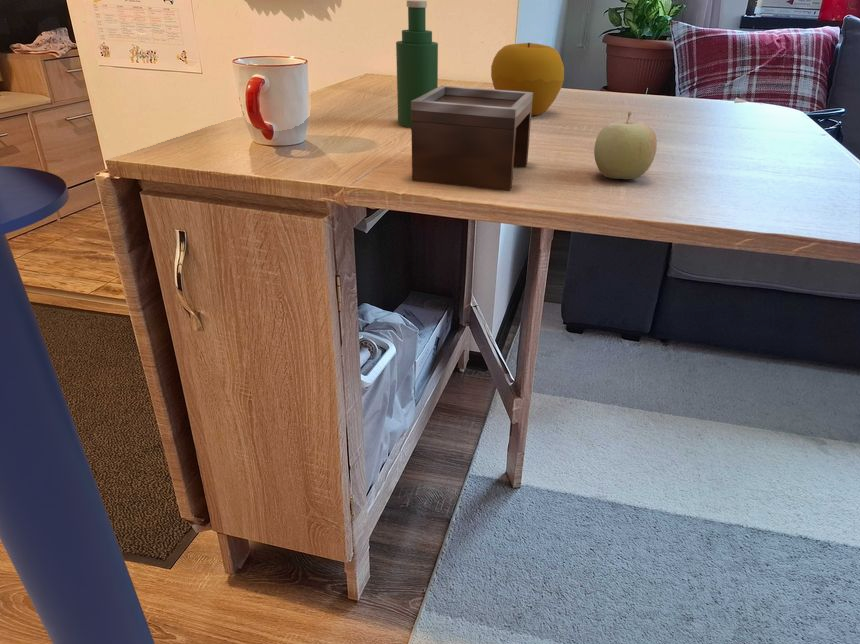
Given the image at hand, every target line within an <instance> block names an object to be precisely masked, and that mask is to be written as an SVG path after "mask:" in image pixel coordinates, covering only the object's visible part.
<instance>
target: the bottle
mask: <svg viewBox="0 0 860 644" xmlns="http://www.w3.org/2000/svg"><path fill="white" fill-rule="evenodd" d="M427 6H428V0H406V7H407V24H408V25H407V26H408V27H407V28H408V29H401V40H398V41H395V53H396V95H397V98H396V100H397V124H398V126H401V127H404V128H408V129H409V128H410V129H411V101H412V100H414V99H416V98H418V97H420V96H422V95H424V94H426V93H428V92H430V91H432V90H434V89H436V88H438V87H439V86H438V85H439V84H438V83H439V82H438V81H439V80H438V79H439V77H438V76H439V74H438V73H439V72H438V71H439V43H438V42H437V41H433V31H432V30H428V29H426V28H427V27H426V24H427V23H426V13H427V12H426V8H427Z"/></svg>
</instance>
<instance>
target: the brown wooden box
mask: <svg viewBox="0 0 860 644" xmlns="http://www.w3.org/2000/svg"><path fill="white" fill-rule="evenodd" d="M532 100H533V92H520V91H507V90H495V88H494V89H491V88H479V87H467V86H466V87H465V86H453V85H452V86H451V85H439V86H438V88H436V89H434V90H432V91H430V92H428V93H426V94H424V95H422V96H420V97H418V98H416V99H414V100H412V101H411V128H410V130H411V133H410V134H411V181H416V182H425V183H436V184H443V185H453V186H463V187H472V188H481V189H492V190H500V191H510V192H511V190H512V188H513V181H514V180H513V178H514V167H520V168H526V167H527V166H528V162H529V161H528V160H529V150H530V149H529V147H530V137H531V125H532V124H531V123H532V116H531V113H532Z"/></svg>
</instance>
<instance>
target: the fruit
mask: <svg viewBox="0 0 860 644" xmlns="http://www.w3.org/2000/svg"><path fill="white" fill-rule="evenodd" d="M631 115H632V111H628V112H627V120H621V121H615V122H610V123H608V124H606V125H605V126H604V127H602V128H601V130H600V131H599V133H598V135H597V136H596V140H595V143H594V150H593V151H594V152H593V153H594V155H593V157H594V161H595V165H596V168H597V169H598V171H599V172H600V173H601V174H602V175H603V176H605V177H606V178H609V179H614V180H615V179H616V180H621V179H622V180H632V179H638V178H641V177H642V176H644V175H645V174H646V172H647V171H648V170H649V169H650V168H651V166H652V164H653V162H654V160H655V156H656V153H657V149H658V147H657V145H658V140H657V136H656V133H655V131H654V129H653V128H652V127H651V126H650V125H649V124H647V123H643V122H640V121H638V120H637V121H636V120H630V117H631Z"/></svg>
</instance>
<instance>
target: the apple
mask: <svg viewBox="0 0 860 644" xmlns="http://www.w3.org/2000/svg"><path fill="white" fill-rule="evenodd" d="M490 78H491V82H492V86H493V88H494V90H507V91H520V92H533V100H532V113H531V117H532V116H538V115H539V116H540V115H542V114H544V113H546V112H547V111H548V110H549V108H550V107H551V106H552V104H554V102H555V100H556V99H557V97H558V95H559V93H560V91H561V89H562V88H563V84H564V80H565V66H564V63H563V61H562V57H561V54H560V53H559V52H558V51H557V49H556V48H555V47H551V46H549V45H546V44H540V43H536V42H535V43H534V42H522V43H511V44H506V45H504V46H503V47H502V48H500V49H499V50H498V51H497V53H496V54H495V56H494V57H493V60H492V63H491V65H490Z"/></svg>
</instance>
